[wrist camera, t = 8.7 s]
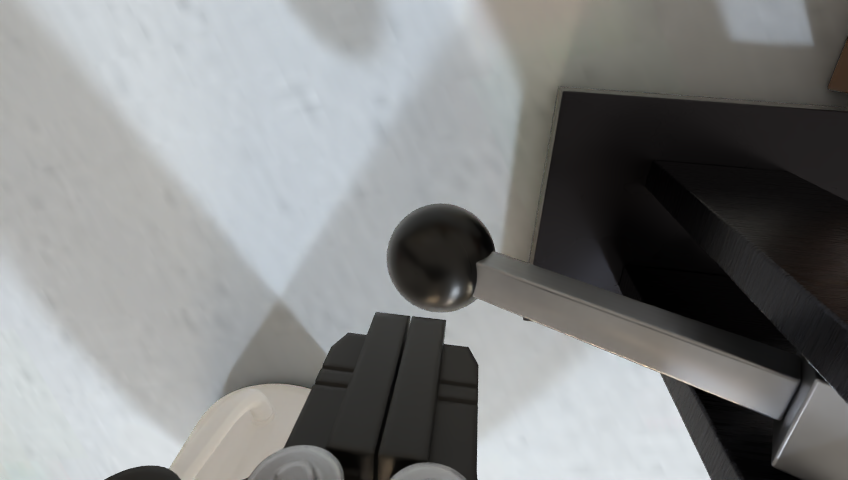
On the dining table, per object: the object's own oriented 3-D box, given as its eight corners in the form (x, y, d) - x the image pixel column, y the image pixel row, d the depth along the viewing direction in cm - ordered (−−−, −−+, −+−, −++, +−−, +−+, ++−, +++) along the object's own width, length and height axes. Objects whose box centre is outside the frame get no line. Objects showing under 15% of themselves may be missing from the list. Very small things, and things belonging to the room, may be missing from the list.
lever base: (521, 304, 20) (553, 615, 10) (558, 86, 16) (678, 201, 6) (794, 336, 19) (1168, 724, 9) (900, 111, 15) (1808, 306, 5)
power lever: (425, 268, 17) (363, 306, 14) (431, 182, 15) (364, 207, 13) (923, 466, 10) (963, 599, 8) (1010, 342, 9) (1093, 458, 6)
